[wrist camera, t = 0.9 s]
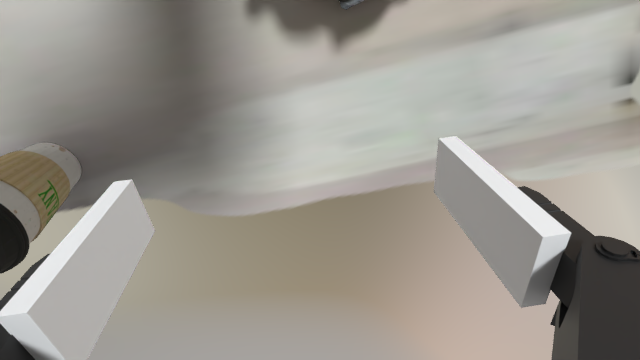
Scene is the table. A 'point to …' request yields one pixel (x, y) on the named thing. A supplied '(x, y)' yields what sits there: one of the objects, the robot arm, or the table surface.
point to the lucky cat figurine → (349, 3)
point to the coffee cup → (32, 195)
